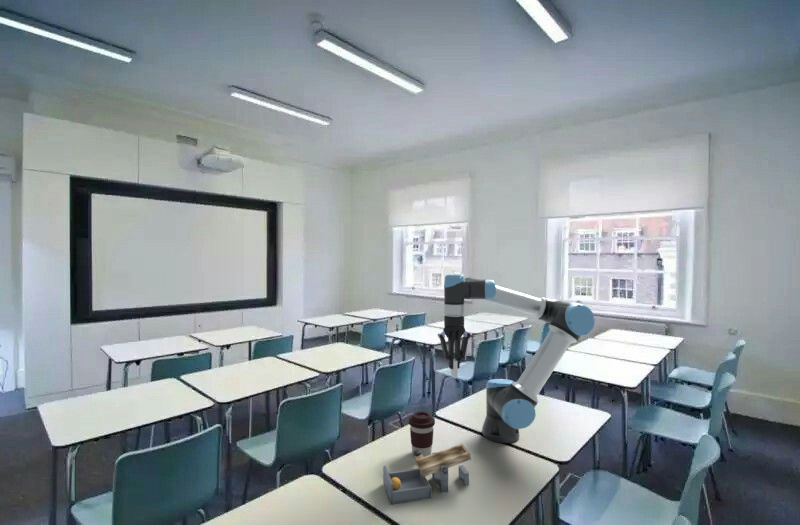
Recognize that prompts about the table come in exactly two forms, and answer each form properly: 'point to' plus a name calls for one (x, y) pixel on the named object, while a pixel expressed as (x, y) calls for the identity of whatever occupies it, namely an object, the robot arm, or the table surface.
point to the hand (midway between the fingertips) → (454, 377)
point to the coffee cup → (422, 432)
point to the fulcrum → (441, 478)
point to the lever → (441, 459)
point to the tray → (406, 486)
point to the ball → (396, 483)
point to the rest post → (463, 475)
